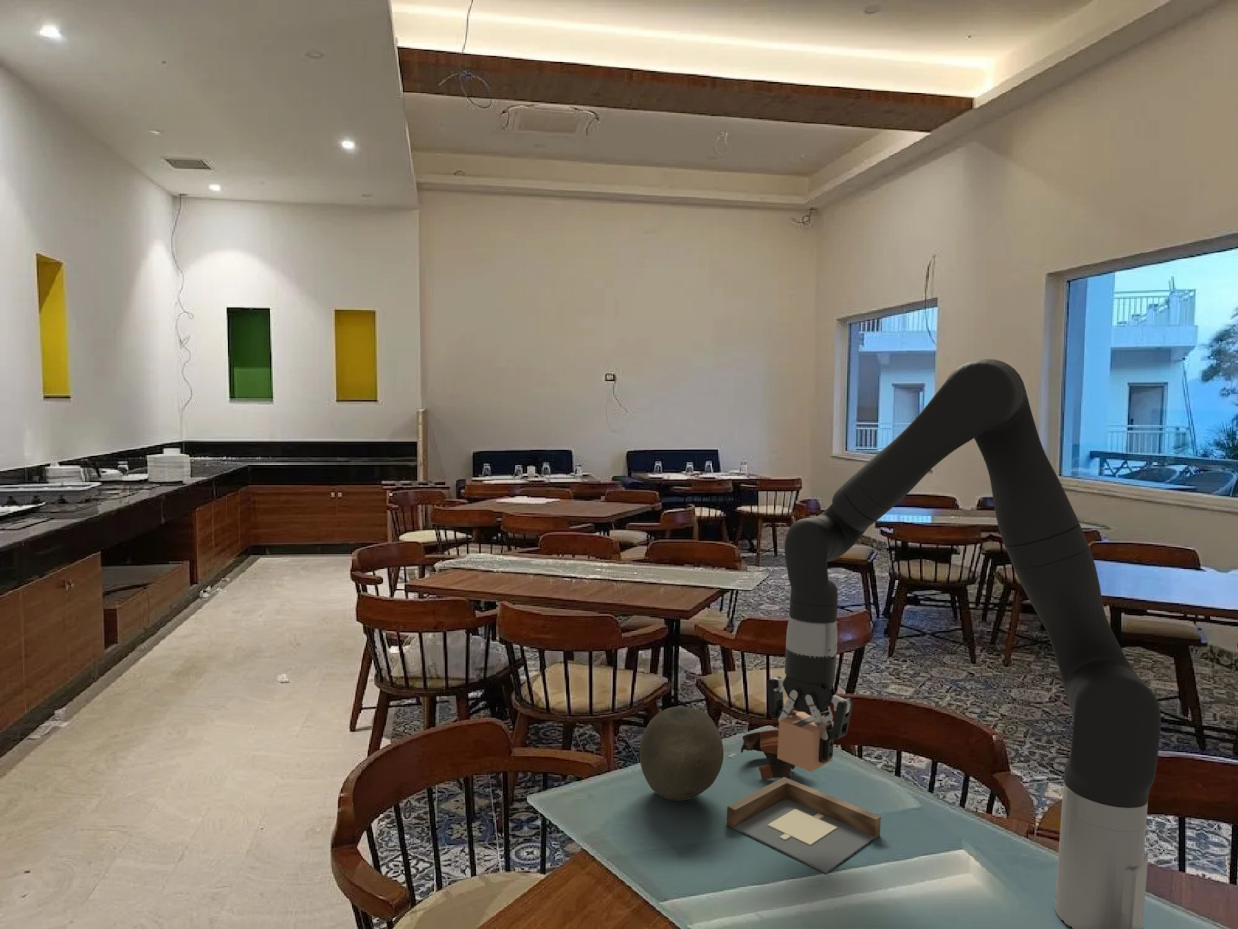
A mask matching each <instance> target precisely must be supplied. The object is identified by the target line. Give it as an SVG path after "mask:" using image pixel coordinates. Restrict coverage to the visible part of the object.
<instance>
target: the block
mask: <svg viewBox="0 0 1238 929" xmlns="http://www.w3.org/2000/svg"><path fill="white" fill-rule="evenodd" d="M833 724H834V721H833ZM826 727H827V726H826ZM778 730H779V735H778V753H777V758H778V759H780V760H783V761H785V762H788V763H790V764H793V765H795V767H799V768H801V769H803V770H805V771H809V772H811V773H812V772H813V771H815V770H817V769H819V768H821V767H824V766H825V765H827V764H829V763H831V762H832V761H833V756H834V755H833V756H832V758H831V759H829V761H827V762H826V763H824V764H823V763H820V762H819V742H820V739H821V736H820V729H818V726H817V725H815V723H814V720H813V717H812V716H810V715H808V714H806V713H805V712H799V711H798V712H797V714H796V715H790V717H789V718H783V719H781V720H779V721H778Z"/></svg>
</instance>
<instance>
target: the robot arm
mask: <svg viewBox="0 0 1238 929" xmlns="http://www.w3.org/2000/svg"><path fill="white" fill-rule="evenodd" d="M1030 405H1031V404H1030V400H1029V398H1028V393H1027V390H1026V386H1025V383H1024V381H1023V379H1022V377H1021V375H1020V373H1019V372H1018V371H1017V370H1016V369H1015V368H1014V367H1013V366H1011V365H1010V364H1008V363H1006V362H1004V361H1001V360H998V359H993V358H984V359H977V360H973V361H972V360H971V361H968V362H966V363H964V364H961V365H960V366H958V367H956V368H955V369H954V370H953V371H952V372H951V373H950V374H949V375H948V376H947V379H946V380H945V381H944V382H943V384H942V385H941V387H940V388H939V389H938V390H937V392H936V393H935V394H934V395H933V397H932V398H931V400H929V402H928V403H927V404H926V405H925V407H924V408H923V409H922V410H921V412H920V413H919V414H918V415H917V416H916V417H915V418H914V420H912V422H911V423H910V424H909V425H908V426H907V427H906V428H905V429H904V430H903V431H902V432H901V433H900V434H899V435H898V436H897V437H896V438H895V439H894V440H892V442H890V443H889V444H888V445H887V446H886V447H884V448H883V449H882V450H881V451H880V452H879V453H877V454H876V455H875V456H874V457H872V458H871V459H870V460H869V461H868V462H867V463H866V464H864V465H863V466H862V467H861V468H860V469H858V470H857V471H856V472H855V473H854V474H853V475H852V476H851V477H849V478H848V479H847V481H846V482H844V483H843V484H842V485H840V487H838V489H837V490H836V492H834V494H833V496H832V499H831V504H829V506H828V507H827V508H826V509H825V510H824V511H823V512H821V513H820V514H818V516H812V517H806V518H805V517H804V518H801V519H798V520H796V521H795V522H793V523H792V524H791V526H790V527H789V528H788V530H787V533H786V536H785V539H784V540H785V541H784V558H785V559H784V560H785V565H786V571H787V577H788V581H789V582H788V583H789V585H790V595H789V596H790V598H789V617H788V621H787V628H786V638H785V639H786V640H785V657H784V658H785V660H784V674H785V678H782V677H781V676H779V675H777V676H774V677H771V678H769V679H767V681H766V689H767V704H768V715H769V716H770V717H771V718H775V719H776V720H777V721H778V722H779V720H781V719H783V718H789V717H790V715H796V714H797V712H805V713H806V714H808V715H810V716H812V717H813V720H814V723H815V725H817V726H818V729H820V736H821V739H820V742H819V762H820V763H823V764H824V763H826V762H827V761H829V759H831V758H832V756H834V743H835V742H834V740H835V741H837V740H840V739H841V738H844V737H845V736H847V734H848V730H849V727H850V726H849V725H850V720H851V716H852V712H853V704H854V700H852V698H850V697H847V698H843V697H841V696H839V695H837V694H836V691H835V688H834V683H835V679H836V670H837V669H836V666H837V651H838V623H837V618H838V602H839V599H838V598H839V597H838V596H839V593H838V592H839V590H838V588H837V585H836V583H834V582H833V581H832V580H830V579H829V572H828V562H832V561H835V560H837V559H838V558H840V557H842V556H843V555H845V554H846V553H847V552H848V551H850V549H852V547H853V546H854V545H855V544H856V543H857V542H858V541H859V539H860V538H861V537H862V536H863V535H864V533H865V532H867V529H868V528H870V526H872V525H873V524H875V523H876V522H878V520H880V519H881V518H882V517H883V516H884V515H886V514H887V513H888V512H889V511H890V510H892V509H893V508H894V507H895V506H896V505H897V504H898V503H899V502H900V501H902V500H903V499H904V498H905V497H906V496H907V495H908V494H909V493H910V492H911V491H912V490H913V489H914V488H915V487H916V486H917V484H919V483H920V481H922V480H923V479H924V477H925V476H926V475H927V474H928V473H929V472H930V471H931V470H932V469H933V468H934V467H936V466H937V465H938V464H939V463H941V461H943V460H944V459H945V458H946V457H948V456H949V455H950V454H952V453H953V452H954V451H956V450H957V449H959V448H961V447H962V446H963V445H966V444H967V443H969V442H970V441H972V440H973V439H974V441H975V443H976V445H977V447H978V449H979V451H980V453H981V455H982V457H983V461H984V463H985V465H986V468H987V473H988V475H989V481H990V486H991V487H990V488H991V493H992V500H993V507H994V512H995V517H996V522H997V525H998V526H997V527H998V530H999V534H1000V537H1001V539H1002V542H1003V545H1004V548H1005V550H1006V553H1007V555H1008V558H1009V560H1010V563H1011V565H1012V566H1013V570H1014V572H1015V574H1016V576H1017V577H1018V580H1019V582H1020V585H1021V587H1022V588H1023V590H1024V593H1025V594H1026V596H1027V599H1028V600H1029V602H1030V603H1031V605H1032V607H1033V610H1034V611H1035V613H1036V614H1037V616H1038V617H1039V619H1040V621H1041V622H1042V625H1043V627H1044V628H1045V631H1046V633H1047V635H1048V637H1049V640H1050V644H1051V646H1052V650H1053V653H1054V656H1055V659H1056V660H1055V661H1056V664H1057V666H1058V670H1059V674H1060V676H1061V680H1062V686H1063V689H1064V694H1065V698H1066V702H1067V704H1068V707H1069V708H1070V711H1071V713H1072V714H1073V722H1072V734H1071V745H1070V746H1071V748H1070V756H1069V758H1068V759H1067V760H1066V761H1065V763H1064V769H1063V770H1064V771H1063V772H1064V773H1063V785H1062V786H1063V788H1062V797H1061V798H1062V800H1061V801H1062V802H1061V814H1060V826H1059V827H1060V829H1059V830H1060V831H1059V845H1058V856H1057V857H1058V858H1057V869H1056V870H1057V871H1056V873H1057V874H1056V885H1055V887H1056V888H1055V900H1054V901H1055V903H1054V904H1055V905H1054V908H1055V909H1054V911H1055V914H1057V917H1058V918H1059V919H1060V920H1061V921H1062V920H1063V921H1064V922H1063V921H1062V922H1063V923H1064V924H1065V925H1066V926H1068V927H1070V926H1071V927H1072V928H1071V927H1070V928H1071V929H1143V928H1144V916H1145V903H1146V889H1147V878H1148V877H1147V875H1148V866H1149V864H1148V863H1149V862H1148V861H1149V857H1148V855H1147V854H1145V842H1146V830H1147V829H1146V828H1147V818H1148V817H1147V816H1148V803H1149V795H1150V789H1151V788H1152V786H1153V784H1154V781H1155V778H1156V774H1157V766H1158V765H1157V764H1158V758H1159V757H1158V756H1159V747H1160V739H1161V728H1162V727H1161V726H1162V724H1161V723H1162V722H1161V720H1162V718H1161V716H1162V715H1161V708H1160V707H1161V706H1160V704H1159V701H1158V700H1157V697H1156V696H1155V694H1154V693H1153V691H1152V690H1151V689H1150V687H1149V686H1148V685H1147V684H1146V683H1145V682H1144V681H1143V680H1142V679H1141V678H1140V677H1139V675H1138V674H1137V673H1136V671H1135V670H1134V669H1133V667H1132V666H1131V663H1130V662H1129V660H1128V658H1127V657H1126V655H1125V653H1124V652H1123V650H1122V648H1121V646H1120V644H1119V642H1118V640H1117V638H1116V635H1115V634H1114V632H1113V630H1112V628H1111V625H1110V623H1109V620H1108V618H1107V615H1106V611H1105V608H1104V604H1103V602H1104V601H1103V597H1102V590H1101V584H1100V580H1099V576H1098V572H1097V566H1096V564H1095V560H1094V557H1093V554H1092V550H1091V548H1090V545H1089V543H1088V541H1087V538H1086V536H1085V534H1084V531H1083V529H1082V526H1081V524H1080V521H1079V519H1078V517H1077V515H1076V513H1075V511H1074V509H1073V506H1072V504H1071V502H1070V500H1069V497H1068V494H1066V492H1065V489H1064V487H1063V485H1062V483H1061V481H1060V480H1059V477H1058V476H1057V473H1056V471H1055V469H1054V467H1053V466H1052V464H1051V462H1050V460H1049V458H1048V456H1047V454H1046V452H1045V449H1044V447H1043V445H1042V442H1041V439H1040V436H1039V432H1038V428H1037V426H1036V422H1035V419H1034V416H1033V412H1032V410H1031V406H1030ZM784 691H785V693H786V696H787V700H786V702H785V703H784ZM831 704H833V711H834V712H835V715H833V712H832V710H831V706H830V705H831ZM833 718H834V720H833ZM833 722H834V724H833ZM826 726H827V727H826ZM832 759H833V758H832ZM1142 927H1143V928H1142Z"/></svg>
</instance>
